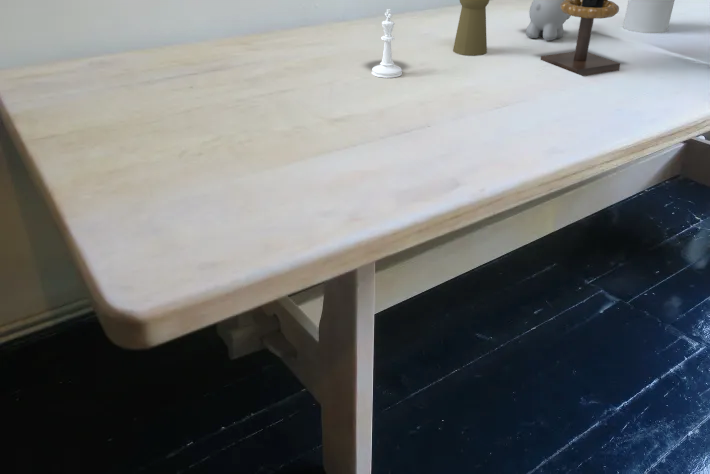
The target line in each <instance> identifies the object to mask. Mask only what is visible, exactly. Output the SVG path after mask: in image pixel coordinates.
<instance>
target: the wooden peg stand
mask: <svg viewBox="0 0 710 474" xmlns="http://www.w3.org/2000/svg"><path fill="white" fill-rule="evenodd" d="M594 19H595V18H582V17H580V21H579V26H578V33H577V38H576V44H575V49H574V51H567V52H560V53H553V54H547V55H546V54H545V55H541V56H540V61H543V62H545V63H547V64H550V65H552V66H555V67H558V68H561V69H563V70H566V71H568V72H571V73H574V74H576V75H579V76H581V77H587V76H592V75H593V76H594V75H599V74H605V73H612V72H617V71H620V67H621V62H618V61H615V60H612V59H609V58H606V57H604V56H600V55H597V54H595V53H591V52H589V48H590V43H591V37H592V31H593V26H594Z"/></svg>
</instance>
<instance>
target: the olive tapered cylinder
mask: <svg viewBox="0 0 710 474" xmlns="http://www.w3.org/2000/svg"><path fill="white" fill-rule="evenodd" d="M459 3H460V5H461V9H460V14H459V18H458V23H457V29H456V33H455V38H454V42H453V47H452V51H453V53H455V54H457V55H462V56H481V55H485V54H487V52H488V43H487V42H488V41H487V9H486V8H487V6H488V5H489V3H490V0H459Z"/></svg>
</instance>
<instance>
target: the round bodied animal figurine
mask: <svg viewBox="0 0 710 474" xmlns="http://www.w3.org/2000/svg"><path fill="white" fill-rule="evenodd" d="M563 1H565V0H532V2H531V4H530V7H529V11H528V13H529V19H530V22H529V24H528V26H527V27H526V30H525V36H526V37H527V38H531V39H538V38H539V37H542V38H543V39H544V40H546V41H551V40H555V39H560V38H562V37H563V36H564V24H565V23H566V21H568V20H569V19H570V18H571V15H568V14H565V13H564V12H563V11H562V10H561V9H560V4H561V3H562V2H563Z"/></svg>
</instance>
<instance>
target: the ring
mask: <svg viewBox="0 0 710 474" xmlns="http://www.w3.org/2000/svg"><path fill="white" fill-rule="evenodd" d="M582 2H583V0H565V1H563V2H562V3H561V4H560V9H561V10H562V11H563V12H564V13H565V14H568V15H571V16H572V17H575V18H581V17H582V18H594V19H598V20H599V19H607V18H612V17H614V16H616V15H617V14H618V13H619V12H620V7H619V5H618V4H616V3H615V2H614V1H611V0H604V2H603V8H590V7H582ZM571 16H570V17H571Z"/></svg>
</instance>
